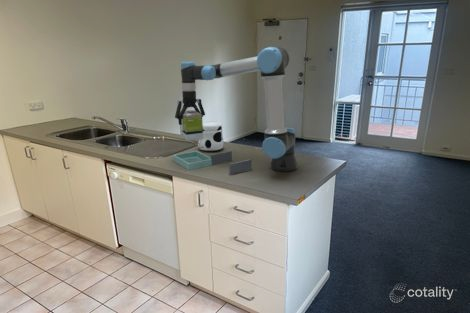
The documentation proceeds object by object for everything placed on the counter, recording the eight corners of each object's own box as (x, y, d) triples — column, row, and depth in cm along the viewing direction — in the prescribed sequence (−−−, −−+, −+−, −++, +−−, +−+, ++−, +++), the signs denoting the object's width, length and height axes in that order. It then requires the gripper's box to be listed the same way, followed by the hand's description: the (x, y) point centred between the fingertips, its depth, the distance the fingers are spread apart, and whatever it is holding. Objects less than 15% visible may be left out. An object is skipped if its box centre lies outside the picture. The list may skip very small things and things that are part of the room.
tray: (213, 164, 189) (213, 158, 188) (188, 170, 180) (188, 164, 179) (196, 156, 206) (196, 150, 204) (173, 160, 197) (173, 155, 196)
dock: (251, 169, 180) (251, 159, 178) (230, 175, 172) (230, 164, 171) (230, 160, 197) (230, 150, 195) (210, 164, 189) (210, 154, 187)
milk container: (193, 149, 221) (192, 123, 216) (214, 144, 231) (214, 120, 226) (207, 154, 208) (206, 127, 202) (229, 150, 218) (228, 124, 212)
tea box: (179, 135, 193) (178, 110, 189) (196, 133, 197) (194, 109, 192) (186, 141, 180) (185, 114, 175) (203, 139, 184) (202, 113, 179)
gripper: (204, 88, 189) (205, 125, 196) (166, 91, 177) (169, 130, 184) (210, 89, 183) (211, 127, 190) (172, 92, 171) (175, 132, 178)
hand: (191, 129), depth 187 cm, fingers closed on tea box, 11 cm apart
